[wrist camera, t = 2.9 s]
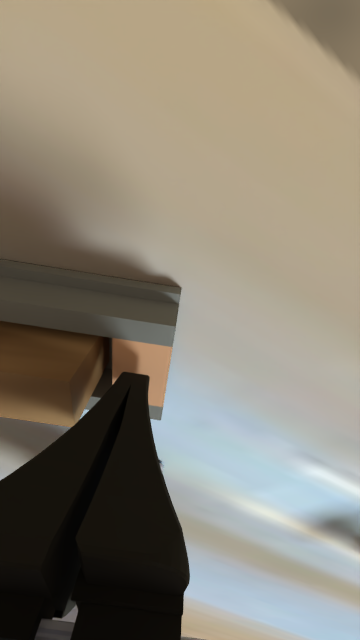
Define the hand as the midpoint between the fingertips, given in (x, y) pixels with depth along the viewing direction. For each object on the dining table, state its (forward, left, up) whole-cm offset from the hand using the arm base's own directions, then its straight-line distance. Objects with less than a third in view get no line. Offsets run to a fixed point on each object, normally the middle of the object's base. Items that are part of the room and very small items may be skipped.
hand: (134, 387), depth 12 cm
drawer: (0, +6, -3) cm, 7 cm away
